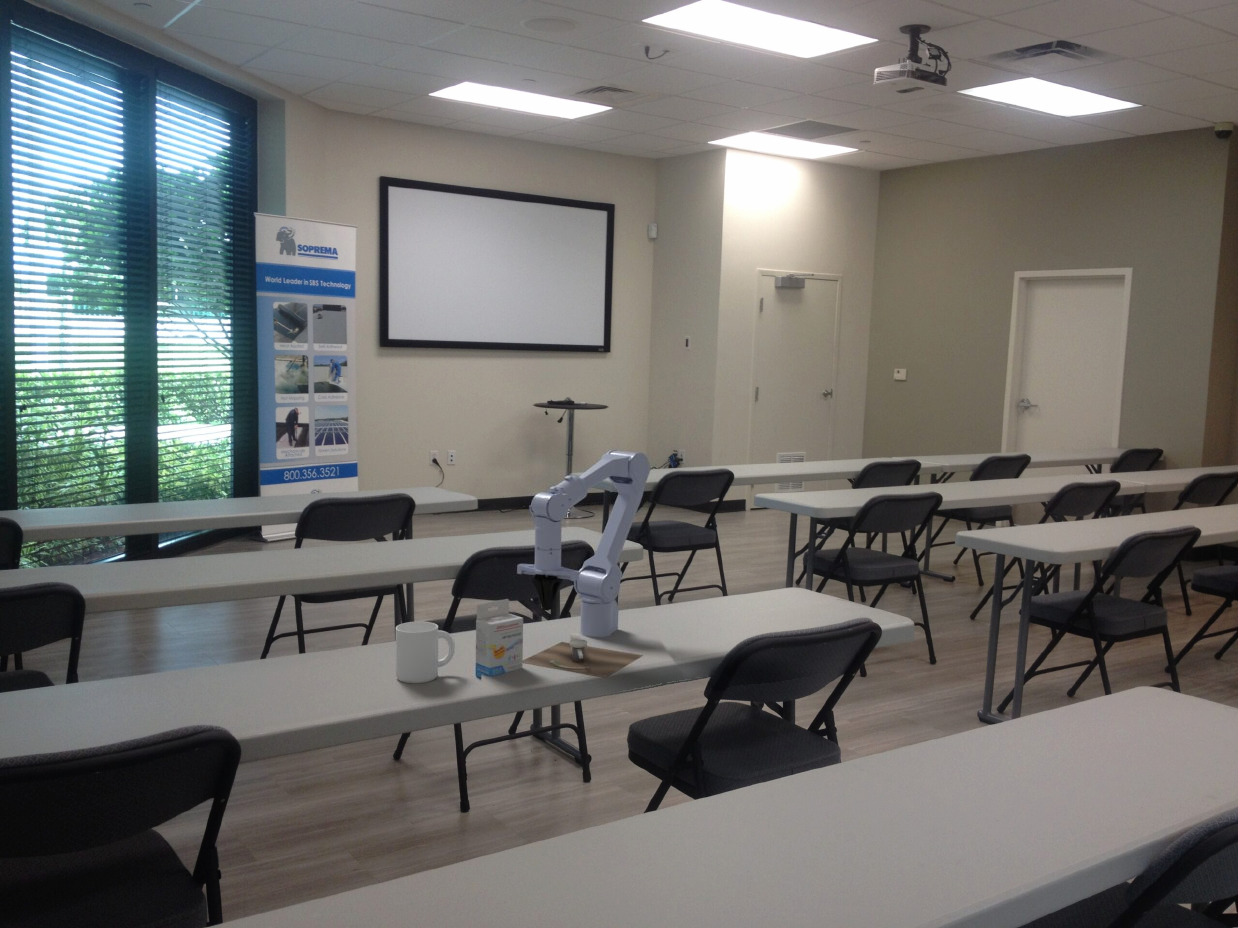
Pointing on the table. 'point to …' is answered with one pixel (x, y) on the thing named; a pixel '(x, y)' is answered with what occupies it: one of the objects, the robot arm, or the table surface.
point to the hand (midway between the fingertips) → (547, 609)
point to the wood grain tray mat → (593, 664)
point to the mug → (420, 651)
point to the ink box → (498, 639)
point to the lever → (577, 647)
